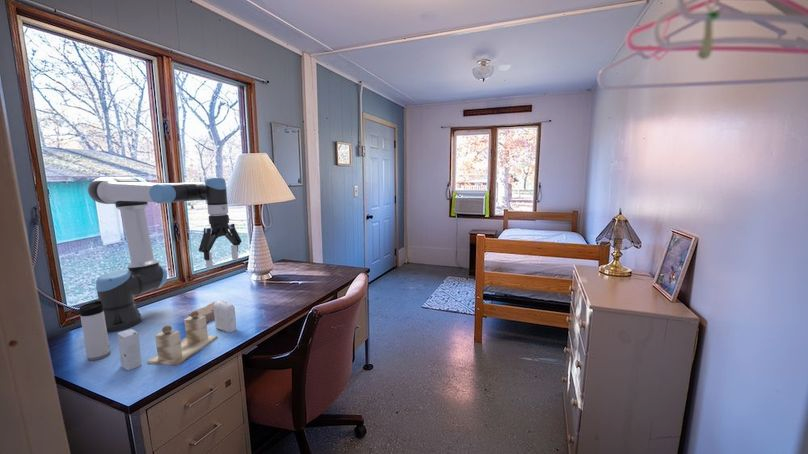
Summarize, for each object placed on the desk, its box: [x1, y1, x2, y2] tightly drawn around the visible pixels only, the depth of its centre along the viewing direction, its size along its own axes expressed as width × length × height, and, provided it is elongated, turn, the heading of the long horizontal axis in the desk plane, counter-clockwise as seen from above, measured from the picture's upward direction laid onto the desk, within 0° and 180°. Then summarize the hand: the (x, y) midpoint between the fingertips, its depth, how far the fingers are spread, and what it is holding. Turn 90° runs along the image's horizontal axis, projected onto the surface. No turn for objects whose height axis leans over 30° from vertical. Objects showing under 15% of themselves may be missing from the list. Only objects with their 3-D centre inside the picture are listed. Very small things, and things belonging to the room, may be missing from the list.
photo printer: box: [214, 300, 237, 333], centre depth 144 cm, size 10×4×12 cm, turn 61°
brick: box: [187, 300, 218, 323], centre depth 158 cm, size 17×8×5 cm, turn 163°
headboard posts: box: [146, 310, 218, 366], centre depth 127 cm, size 12×20×13 cm, turn 171°
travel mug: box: [78, 300, 111, 361], centre depth 123 cm, size 6×7×20 cm
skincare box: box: [117, 328, 142, 371], centre depth 117 cm, size 6×4×12 cm
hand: (223, 263), depth 147 cm, fingers open, 13 cm apart
